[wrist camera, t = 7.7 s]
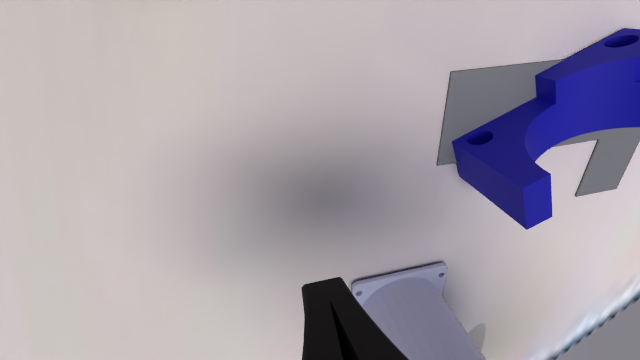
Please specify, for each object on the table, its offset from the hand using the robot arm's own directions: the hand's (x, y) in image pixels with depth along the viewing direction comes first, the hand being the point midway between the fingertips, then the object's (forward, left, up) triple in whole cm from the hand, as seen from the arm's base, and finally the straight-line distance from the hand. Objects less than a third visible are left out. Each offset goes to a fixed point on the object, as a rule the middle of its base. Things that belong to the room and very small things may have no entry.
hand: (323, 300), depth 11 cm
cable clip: (+2, -17, -10) cm, 19 cm away
